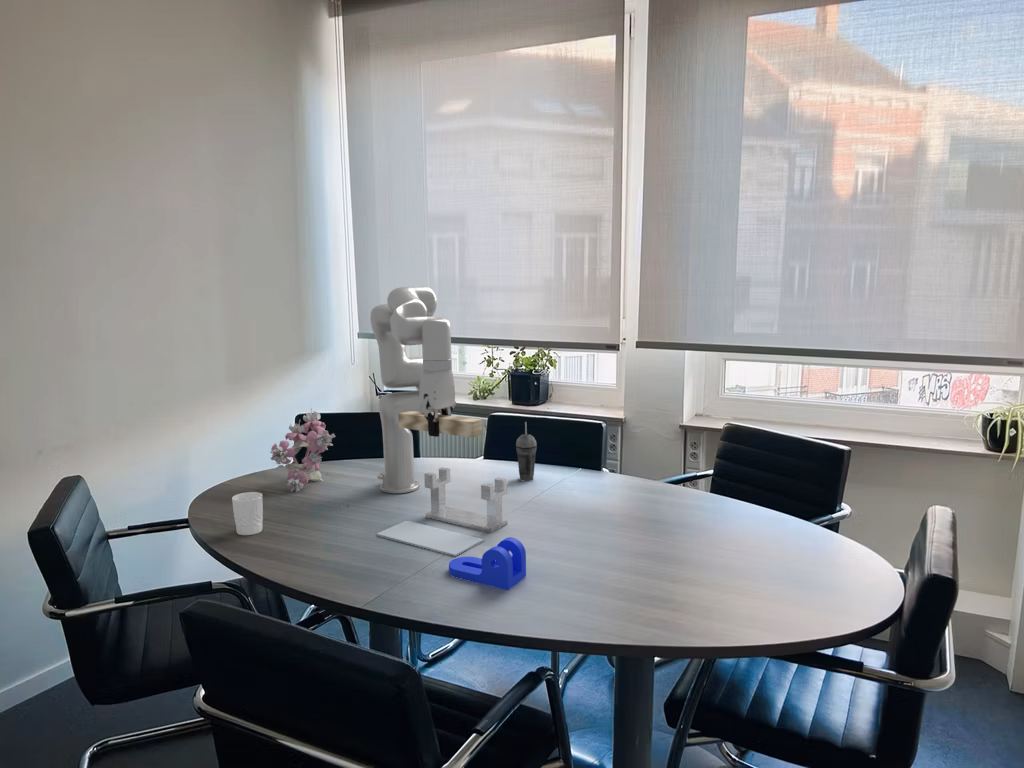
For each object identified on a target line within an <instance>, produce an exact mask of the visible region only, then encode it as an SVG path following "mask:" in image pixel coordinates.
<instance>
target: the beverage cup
mask: <svg viewBox="0 0 1024 768" xmlns="http://www.w3.org/2000/svg"><path fill="white" fill-rule="evenodd" d="M524 426H525V427H524V433H523V434H521V435H520V436H518V438H517V439H516V443H515V449H516V453H517V454H516V455H517V462H518V464H517V466H518V474H519V480H520V481H522V480H524V481H523V482H530V481H529V480H531V481H533V480H534V475H535V465H536V464H535V462H536V452H537V447H538V445H537V440H536V439H535V437H534V436H533V435H532V434H529V433H528V432H527V431H528V429H527V427H528V426H527V421H525V422H524Z"/></svg>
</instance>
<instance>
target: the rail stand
mask: <svg viewBox="0 0 1024 768" xmlns="http://www.w3.org/2000/svg"><path fill="white" fill-rule="evenodd" d="M423 477H424V488H425V489H430V508H431V509H430V511H429V512H426V513H425V518H426V517H427V518H426V519H430V518H432V519H431V520H434V519H436V520H435V521H438V520H441V521H440V522H443V521H444V522H443V523H447V522H448V524H451V523H452V524H451V525H455V524H456V526H460V525H461V527H464V528H468V527H469V529H472V528H473V530H477V529H478V531H481V530H482V532H485V531H486V533H489V532H492V533H493V532H496V531H497V530H499V529H501V528H503V527H504V526H506V525H508V519H504V518H503V496H504V495H506V494H507V493H508V479H507V478H502V477H496V478H494V484H489V483H486V482H485V483H482V484H480V496H481V498H480V499H481V500H483V501H486V514H482V513H478V512H473V511H469V510H465V509H464V510H463V509H460V508H455V507H451V506H447V505H446V503H447V502H446V484H449V483H451V468H448V467H440V468H438V478H437V473H433V472H431V473H430V472H426V473H424V476H423ZM502 526H503V527H502Z"/></svg>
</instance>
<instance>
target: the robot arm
mask: <svg viewBox="0 0 1024 768" xmlns="http://www.w3.org/2000/svg"><path fill="white" fill-rule="evenodd" d="M386 299H387V301H386V303H385V304H384V303H383V304H379V305H375V306H374V307H373V308H372V309H371V311H370V317H369V319H370V326H371V330H372V331H373V335H374V338H375V340H376V342H377V345H378V354H379V366H380V378H381V382H382V385H383V387H385V388H386V389H400V388H401V389H404V388H415V389H416V390H413V391H411V390H410V391H398V392H391V393H386V394H383V396H381V397H380V399H379V400H378V411H379V416H380V421H381V422H380V423H381V429H382V444H383V445H382V446H383V447H382V448H383V467H384V468H383V469H384V471H380V472H379V474H378V475H377V480H382V483H381V484H380V488H379V489H380V490H381V492H383V493H387V494H405V493H406V494H407V493H412V492H414V491H417V490H418V489H419V488H420V482H419V481H417V480H415V467H414V466H415V464H414V463H415V462H414V461H415V459H414V439H413V438H414V437H413V433H412V431H411V429H405V428H399V421H398V413H401V412H405V411H415V412H420V413H421V414H422V415H424V416H425V418H426V420H427V421H428V431H427V432H428V436H429V437H434V438H438V437H440V433H439V422H437V417H438V414H440V415H449V416H452V412H453V410H454V408H456V405H457V401H456V390H455V380H454V375H453V373H454V372H453V370H452V369H453V364H452V333H451V329H452V328H451V323H450V321H449V320H448V319H446V318H443V316H440V315H439V316H438V315H436V316H434V315H435V313H436V310H437V307H438V306H437V305H438V300H437V296H436V293H435V292H434V290H433V289H432V288H431V287H428V286H401V287H395V288H394V289H392V290H391V291H389V293H388V296H387V298H386ZM416 345H419V346H420V345H421V350H422V357H419V356H416V357H414V356H413V357H407V349H406V348H407V347H406V346H416ZM432 414H433V415H432Z"/></svg>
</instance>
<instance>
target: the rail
mask: <svg viewBox="0 0 1024 768" xmlns="http://www.w3.org/2000/svg"><path fill="white" fill-rule="evenodd" d="M432 415H433V414H432ZM398 421H399V428H405V429H409V430H413V431H422V432H428V421H427V420H426V418H425V416H424V415H422V414H421V413H420V412H415V411H405V412H401V413H398ZM437 422H439V434H445V435H450V436H459V437H465V438H466V437H467V438H473V439H474V438H477V437H480V436H483V435H484V433H483V432H484V431H483V419H481V418H473V417H465V416H458V415H457V416H455V415H451V416H449V415H440V413H438V417H437Z"/></svg>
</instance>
